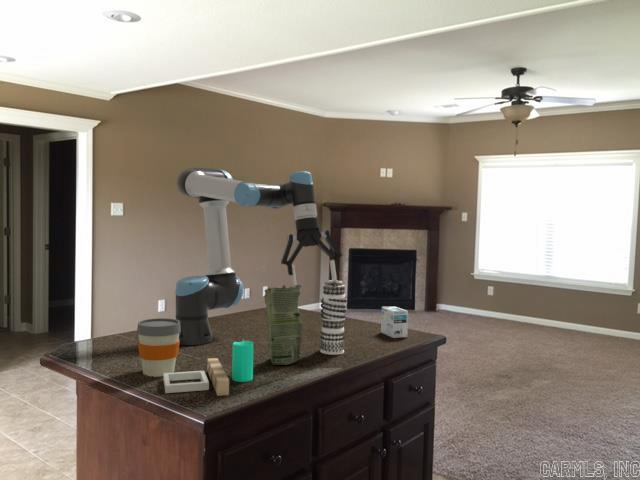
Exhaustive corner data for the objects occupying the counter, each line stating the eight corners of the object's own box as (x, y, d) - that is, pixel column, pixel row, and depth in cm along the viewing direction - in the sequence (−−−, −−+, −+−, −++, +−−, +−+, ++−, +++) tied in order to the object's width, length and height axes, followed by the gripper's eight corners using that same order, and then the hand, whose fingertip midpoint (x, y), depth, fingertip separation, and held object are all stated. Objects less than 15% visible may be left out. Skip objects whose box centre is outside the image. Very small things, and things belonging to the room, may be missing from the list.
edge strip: (207, 371, 167) (207, 358, 167) (217, 371, 168) (217, 358, 168) (217, 395, 146) (217, 380, 146) (228, 394, 147) (229, 380, 147)
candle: (253, 375, 165) (254, 335, 164) (251, 382, 159) (252, 340, 158) (233, 375, 164) (234, 335, 164) (230, 381, 158) (231, 340, 158)
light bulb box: (408, 337, 219) (408, 310, 219) (393, 338, 217) (393, 311, 216) (394, 331, 229) (395, 305, 229) (380, 332, 227) (381, 306, 226)
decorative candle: (350, 351, 196) (352, 280, 194) (336, 356, 188) (338, 283, 187) (328, 346, 201) (330, 278, 200) (314, 351, 193) (316, 280, 192)
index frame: (163, 380, 158) (163, 373, 158) (204, 377, 162) (204, 370, 162) (165, 393, 147) (165, 385, 147) (208, 389, 151) (209, 382, 151)
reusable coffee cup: (188, 372, 166) (189, 322, 165) (151, 381, 157) (151, 328, 156) (165, 363, 174) (165, 316, 174) (128, 371, 165) (128, 321, 164)
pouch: (261, 365, 176) (263, 286, 174) (270, 355, 187) (271, 281, 186) (296, 367, 174) (298, 288, 173) (302, 357, 186) (304, 283, 184)
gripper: (271, 220, 176) (280, 286, 174) (345, 213, 183) (354, 277, 181) (267, 223, 183) (275, 287, 181) (338, 216, 190) (346, 278, 188)
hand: (315, 282), depth 181 cm, fingers open, 13 cm apart
